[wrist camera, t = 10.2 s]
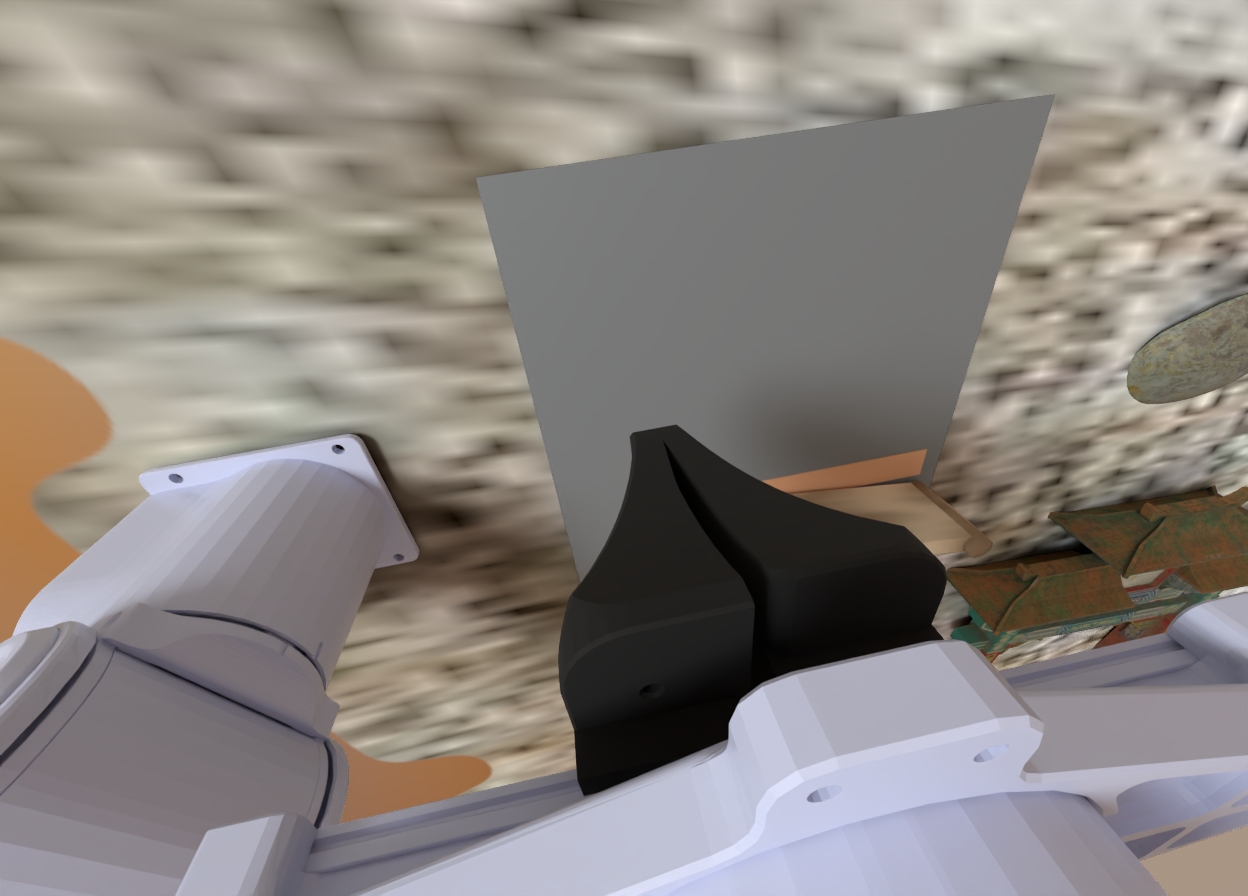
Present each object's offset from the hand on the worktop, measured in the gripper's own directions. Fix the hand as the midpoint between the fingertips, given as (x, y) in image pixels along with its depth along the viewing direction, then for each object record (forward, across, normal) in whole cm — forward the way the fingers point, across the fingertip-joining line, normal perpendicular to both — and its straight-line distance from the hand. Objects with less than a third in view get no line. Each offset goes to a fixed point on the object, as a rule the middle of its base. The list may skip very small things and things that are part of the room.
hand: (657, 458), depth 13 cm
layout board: (+9, -7, +9) cm, 15 cm away
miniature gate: (+10, -35, +31) cm, 48 cm away
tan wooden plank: (+8, -11, +11) cm, 18 cm away
